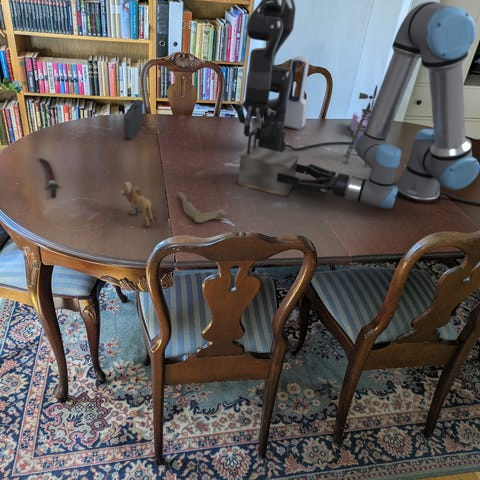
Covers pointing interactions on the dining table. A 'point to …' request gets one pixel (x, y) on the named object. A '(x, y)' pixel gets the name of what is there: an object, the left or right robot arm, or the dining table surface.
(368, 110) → the miniature windmill
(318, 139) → the dining table surface
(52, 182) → the sword
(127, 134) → the handheld gaming console
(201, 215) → the jawbone
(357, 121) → the clip
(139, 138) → the dining table surface
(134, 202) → the lion figurine
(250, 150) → the panel with bar handle
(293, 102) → the electronic device
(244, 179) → the chest
